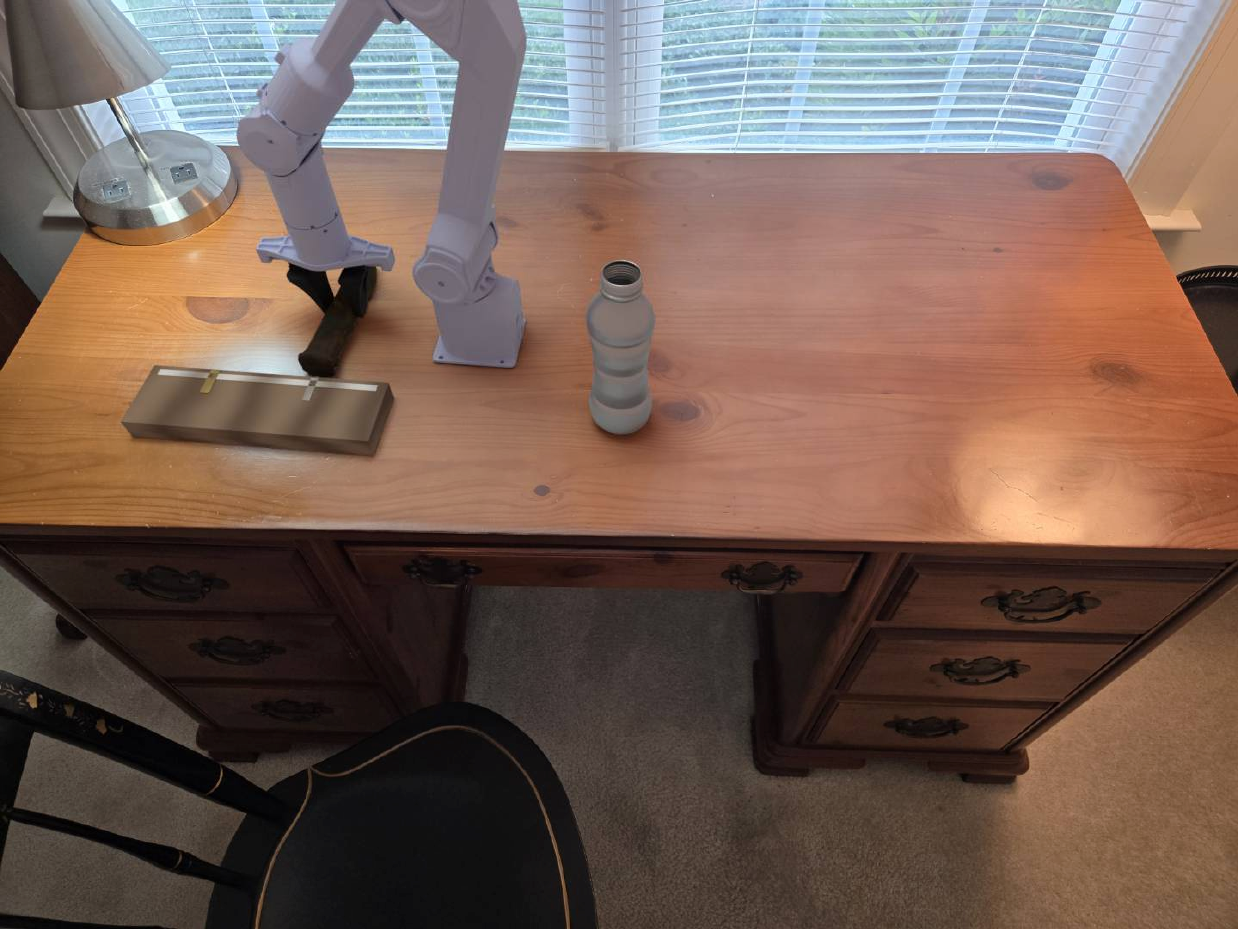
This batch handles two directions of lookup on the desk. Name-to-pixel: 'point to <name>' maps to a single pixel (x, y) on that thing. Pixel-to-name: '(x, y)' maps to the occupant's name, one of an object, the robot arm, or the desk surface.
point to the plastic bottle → (620, 349)
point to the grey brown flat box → (260, 410)
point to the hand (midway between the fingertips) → (346, 310)
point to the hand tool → (333, 333)
